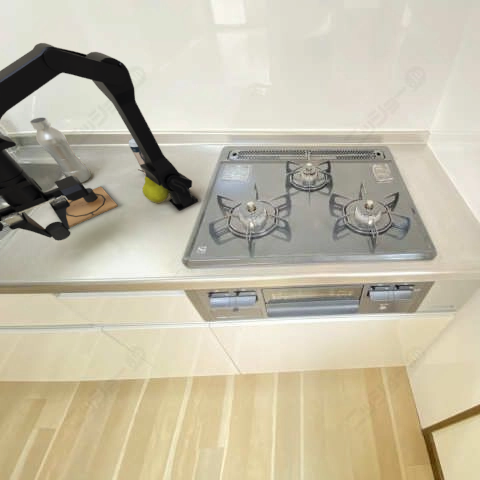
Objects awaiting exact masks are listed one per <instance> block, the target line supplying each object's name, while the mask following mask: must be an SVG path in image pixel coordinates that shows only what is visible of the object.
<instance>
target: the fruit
mask: <svg viewBox="0 0 480 480" xmlns="http://www.w3.org/2000/svg"><path fill="white" fill-rule="evenodd" d="M137 171H140V172H142V173H144V171H142V169H139V168H138V169H137ZM142 194H143V196H144V197H145V198H146V199H147V200H148V201H151V202H152V203H157V204H160V203H163V202H165V201H166V200H167V198H168V197H169V196H170V194H169V192H168V190H167V189H165V188H164V187H162V186H161V185H160V186H159V185H157V184H156V183H155V182H153V181H152V180H150V179H149V178H147V177H146V176H144V184H143V186H142Z"/></svg>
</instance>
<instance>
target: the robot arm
mask: <svg viewBox="0 0 480 480" xmlns="http://www.w3.org/2000/svg"><path fill="white" fill-rule="evenodd" d="M61 74H67V75H72V76H75V77H79V78H82V79H86V80H91V81H92V82H93V84H94V85H95V86H96V87H97V89H98V90H100V92H102V94H103V95H104V96H105V97H106V98H107V99H108V100H109V101H110V102H111V103H112V104H113V106H114V108H115V110H116V111H117V113H118V115H119V116H120V118H121V120H122V122H123V123H124V125H125V127H126V128H127V130H128V132H129V133H130V136H131V137H132V138H133V139H134V140H135V142H136V144H137V145H138V147H139V149H140V151H141V152H142V154H143V156H144V158H145V164H142V165H139V167H140V166H141V167H140V168H142V169H143V170H144V171H145V173H146V175H145V177H147V178H149V179H150V180H152V181H153V182H155V183H156V184H157V185H159V186H160V185H161V186H162V187H164V188H165V189H167V190H168V192H169V197H170V199H168V201H169V203H170V204H171V205H172V206H173V207H174V208H175V209H176V210H178V211H182V210H184V209H186V208H188V207H191V206H192V205H194V204H196V203H198V202H199V198H197V197H196V196H195V195H193V194H192V191H191V188H193V181H192V179H191V178H189V177H187V176H185V175H184V174H183V173H181V172H179V170H178V169H177V168H176V167H175V165H174V164H172V162H171V161H170V160H169V159H168V158H167V157H166V155H165V154H164V153H163V151H162V149H161V147H160V145H159V143H158V141H157V140H156V138H155V136H154V134H153V132H152V130H151V128H150V126H149V124H148V122H147V120H146V119H145V117H144V115H143V113H142V111H141V109H140V107H139V105H138V103H137V101H136V91H135V85H134V82H133V79H132V76H131V73H130V71H129V69H128V68H127V65H126V64H124V63H123V62H122V61H120V60H118V59H117V58H115V57H112V56H109V55H107V54H105V53H102V52H100V51H91V52H88V53H87V54H86V53H82V52H78V51H75V50H71V49H66V48H62V47H56V46H54V45H52V44H50V43H46V42H40V43H36V44H35V45H34V46H33V48H32V49H31V50H30V51H28V52H27V53H24V55H22V56H20V57H19V58H18V59H16V60H15V61H13V62H11V63H9V64H8V65H7V66H5V67H4V68H2V69H1V70H0V120H1V119H2V117H4V115H5V114H6V113H7V112H8V111H9V110H11V109H13V108H14V107H15V106H16V105H18V104H19V103H21V102H23V100H25V99H26V98H28V97H30V96H31V95H32V94H34V93H35V92H36V91H38V90H39V89H41V88H43V86H45V85H46V84H48V83H49V82H50V81H52V80H53V79H55V78H56V77H58V76H59V75H61ZM16 146H17V143H16V142H15V141H14V140H13V139H12V138H11V137H10V136H7V135H2V134H0V198H1V199H2V200H3V201H4V202H5V203H6V204H7V205H8V206H6V207H2V208H0V232H2V231H3V229H4V227H5V225H4V223H6V224H7V226H8V227H9V229H10V230H12V231H13V230H17V229H21V230H25V231H29V232H33V233H35V234H39V235H41V236H44V237H46V238H49V239H50V238H53V237H52V236H51V235H50V234H49V233H48V232H47V231H46V230H45V227H43V226H42V225H41V224H39V222H37V221H35V219H33V218H32V217H31V216H29V214H27V213H26V212H28V211H30V210H32V209H35V208H37V207H40V206H42V205H45V204H47V203H48V204H49V205H50V207H51V208H52V210H53V211H54V213H55V214H56V216H57V217H58V219H59V220H60V222H62V224H63V225H64V226H65V228H67V229H68V230H69V231H70V229H71V227H70V228H69V224H68V221H67V217H66V208H68V207H70V204H69V202H68V201H67V200H71V201H76V200H78V199H81V198H83V197H86V196H88V194H89V192H88V191H87V190H86V187H85V185H84V184H83V182H80V181H79V180H78V178H77V177H75V176H69V177H64V178H61V179H59V180H55V181H54V184H55V185H56V186H55V187H51V188H49V189H47V190H44V191H43V188H42V186H40V184H38V183H37V180H35V178H33V177H31V176H30V175H29V174H28V173H27V172H26V171H25V170H24V169H23V167H21V166H20V164H19V163H18V162H17V161H16V160H15V158H13V157H12V155H11V154H10V153H9V152H8V151H7V150H8V149H10V148H13V147H16ZM142 169H141V170H142ZM2 222H3V223H2Z"/></svg>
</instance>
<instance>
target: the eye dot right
mask: <svg viewBox="0 0 480 480" xmlns="http://www.w3.org/2000/svg"><path fill="white" fill-rule="evenodd" d="M85 188H86V187H85ZM86 190H87V191H88V192H89V194H88V196H86V197H83V198H84V200H85V201H86V202H93V201H95V200H97V198H98V197H97V196H96V194H95V193H94V191H93V189H92V188H91V187H87V188H86Z"/></svg>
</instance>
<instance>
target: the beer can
mask: <svg viewBox="0 0 480 480" xmlns="http://www.w3.org/2000/svg"><path fill="white" fill-rule="evenodd" d="M128 146H129V148H130V150H131V151H132V153H133V155H134V157H135V159H136V161H137V163H138V165H139V167H140V168H141V166H140V165H142V164H145V158H144V156H143V154H142V152H141V151H140V149H139V147H138V145H137V144H136V142H135V140H134V139H133V137H132V138H130V139H129V140H128ZM140 170H142V171H144V170H143V169H142V168H141V169H140ZM142 171H141V172H142ZM143 174H144V175H145V176H146V173H145V171H144V172H143Z"/></svg>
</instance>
